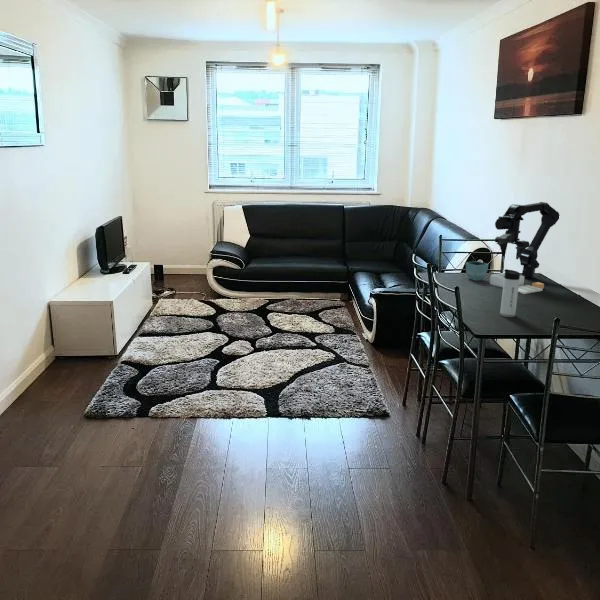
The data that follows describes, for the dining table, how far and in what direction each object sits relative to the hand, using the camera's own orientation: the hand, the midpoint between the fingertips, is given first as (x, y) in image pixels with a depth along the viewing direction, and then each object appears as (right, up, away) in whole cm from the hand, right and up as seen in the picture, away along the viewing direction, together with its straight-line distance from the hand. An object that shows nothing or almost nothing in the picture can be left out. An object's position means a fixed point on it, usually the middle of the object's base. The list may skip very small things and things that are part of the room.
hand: (510, 257), depth 329 cm
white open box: (-5, -15, -8) cm, 18 cm away
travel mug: (-22, -29, -61) cm, 71 cm away
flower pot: (-18, -12, +2) cm, 22 cm away
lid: (+4, -17, -17) cm, 24 cm away
